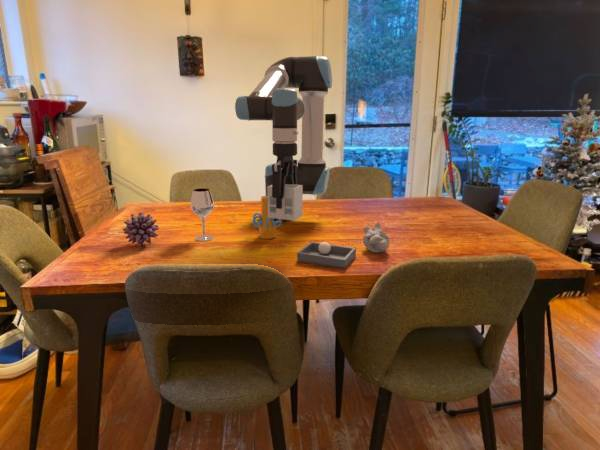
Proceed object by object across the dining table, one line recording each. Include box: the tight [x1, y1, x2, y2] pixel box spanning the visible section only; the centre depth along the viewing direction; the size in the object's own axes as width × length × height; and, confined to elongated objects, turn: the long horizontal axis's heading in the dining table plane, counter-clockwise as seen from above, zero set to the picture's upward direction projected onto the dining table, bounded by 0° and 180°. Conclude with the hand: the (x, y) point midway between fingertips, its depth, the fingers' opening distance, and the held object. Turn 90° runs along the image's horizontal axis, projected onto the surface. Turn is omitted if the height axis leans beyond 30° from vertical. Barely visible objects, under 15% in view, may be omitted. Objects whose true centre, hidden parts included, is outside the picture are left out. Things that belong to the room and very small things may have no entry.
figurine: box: [362, 221, 390, 254], centre depth 143 cm, size 8×10×12 cm
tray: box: [296, 241, 357, 270], centre depth 136 cm, size 16×12×3 cm
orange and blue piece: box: [251, 195, 282, 240], centre depth 157 cm, size 12×10×15 cm
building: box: [267, 184, 304, 222], centre depth 136 cm, size 9×6×10 cm
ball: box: [318, 241, 331, 254], centre depth 139 cm, size 4×4×4 cm
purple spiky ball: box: [122, 211, 160, 247], centre depth 147 cm, size 12×12×12 cm
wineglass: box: [190, 187, 215, 242], centre depth 154 cm, size 8×8×18 cm
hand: (285, 215), depth 137 cm, fingers closed on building, 6 cm apart
